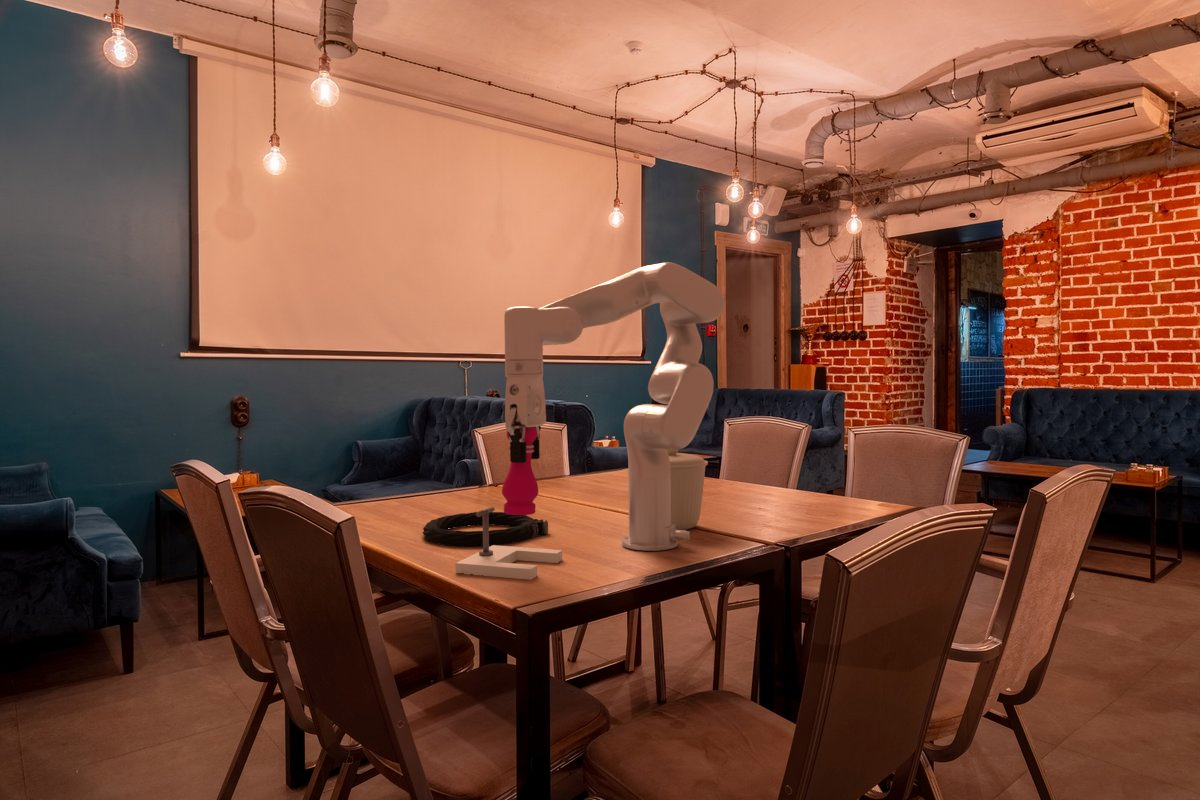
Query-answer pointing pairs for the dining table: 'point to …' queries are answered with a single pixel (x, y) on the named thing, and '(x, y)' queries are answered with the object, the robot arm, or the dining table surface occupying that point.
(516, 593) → the dining table surface
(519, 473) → the pepper mill
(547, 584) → the dining table surface
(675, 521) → the canister
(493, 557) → the u-shaped stand
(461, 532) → the cable lock
